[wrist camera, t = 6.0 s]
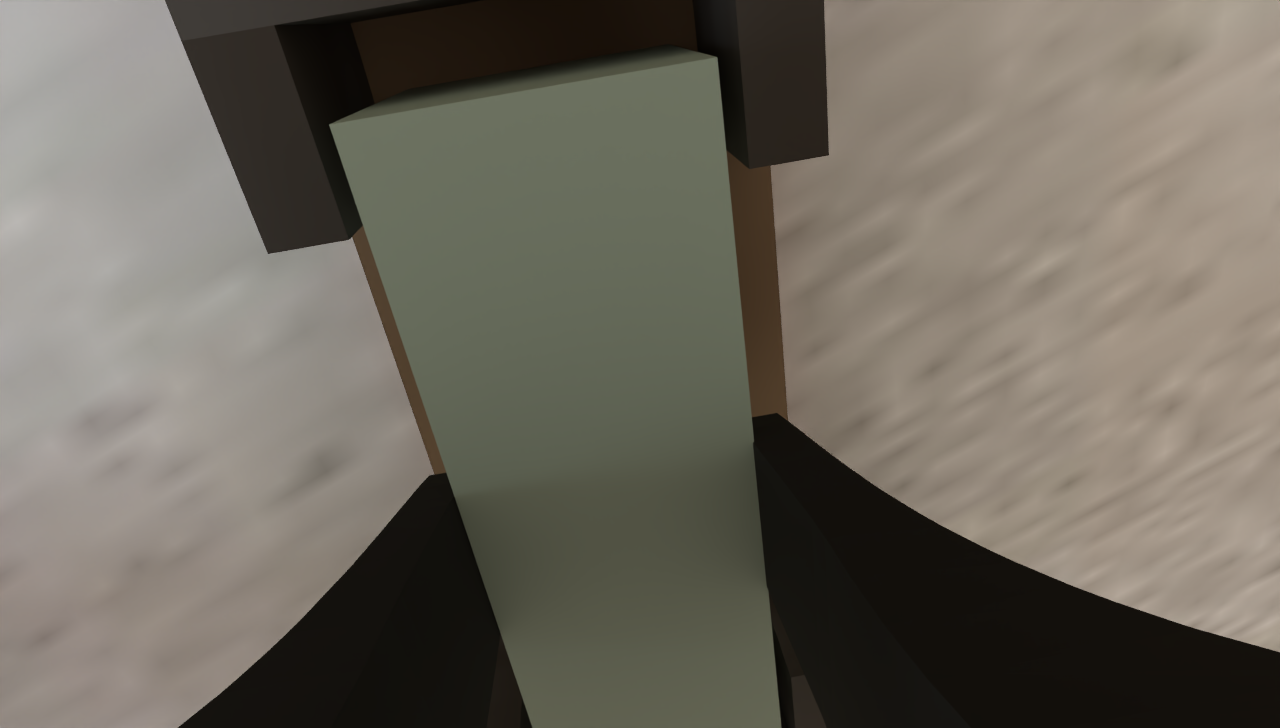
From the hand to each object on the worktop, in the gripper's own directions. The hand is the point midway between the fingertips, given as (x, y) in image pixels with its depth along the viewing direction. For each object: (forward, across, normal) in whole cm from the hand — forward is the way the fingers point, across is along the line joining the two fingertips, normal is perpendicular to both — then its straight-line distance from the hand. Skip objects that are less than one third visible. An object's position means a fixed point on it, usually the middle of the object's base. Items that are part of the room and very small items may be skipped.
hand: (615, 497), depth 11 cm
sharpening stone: (+3, 0, 0) cm, 3 cm away
